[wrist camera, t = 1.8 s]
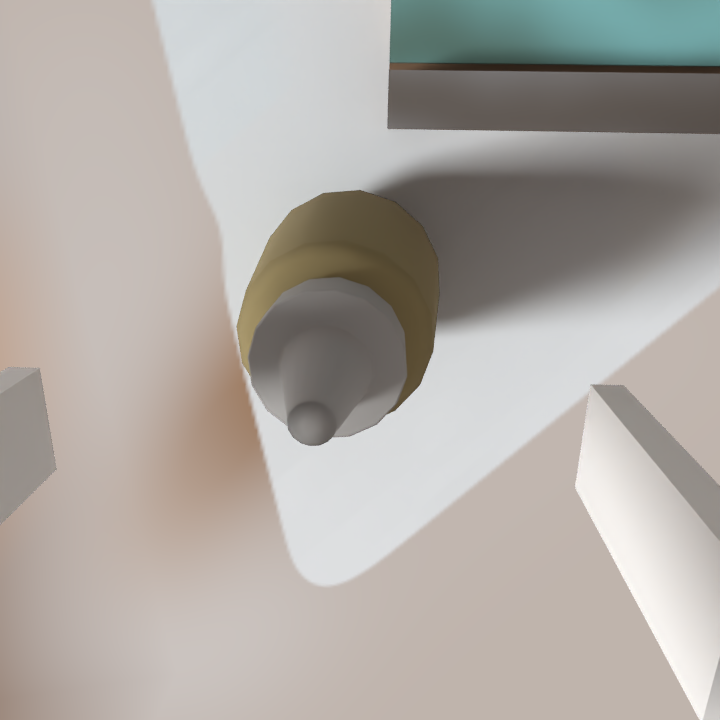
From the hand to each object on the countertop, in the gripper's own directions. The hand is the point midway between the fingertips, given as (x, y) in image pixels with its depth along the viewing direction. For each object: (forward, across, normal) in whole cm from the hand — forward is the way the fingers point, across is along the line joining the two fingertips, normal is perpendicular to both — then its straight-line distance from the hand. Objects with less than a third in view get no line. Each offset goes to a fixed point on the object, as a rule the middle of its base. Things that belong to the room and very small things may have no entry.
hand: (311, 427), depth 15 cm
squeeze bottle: (+18, 0, 0) cm, 18 cm away
